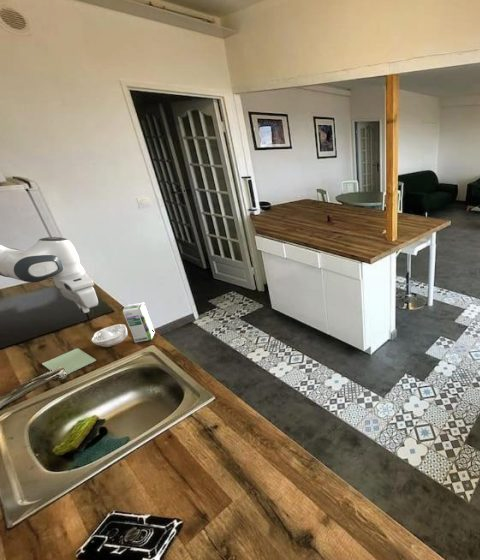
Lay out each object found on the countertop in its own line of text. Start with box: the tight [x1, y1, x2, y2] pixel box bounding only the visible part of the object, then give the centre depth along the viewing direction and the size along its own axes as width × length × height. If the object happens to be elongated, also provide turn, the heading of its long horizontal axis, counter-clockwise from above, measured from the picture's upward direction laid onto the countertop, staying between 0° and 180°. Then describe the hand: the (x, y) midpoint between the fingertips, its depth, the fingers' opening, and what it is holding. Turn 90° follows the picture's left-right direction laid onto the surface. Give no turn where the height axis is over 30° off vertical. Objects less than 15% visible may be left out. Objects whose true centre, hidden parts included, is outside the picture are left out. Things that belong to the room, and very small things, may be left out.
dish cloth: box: [41, 347, 97, 379], centre depth 110 cm, size 10×14×1 cm
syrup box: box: [122, 301, 156, 344], centre depth 121 cm, size 6×6×14 cm
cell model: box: [91, 323, 128, 348], centre depth 119 cm, size 10×12×7 cm
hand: (85, 311), depth 121 cm, fingers closed
